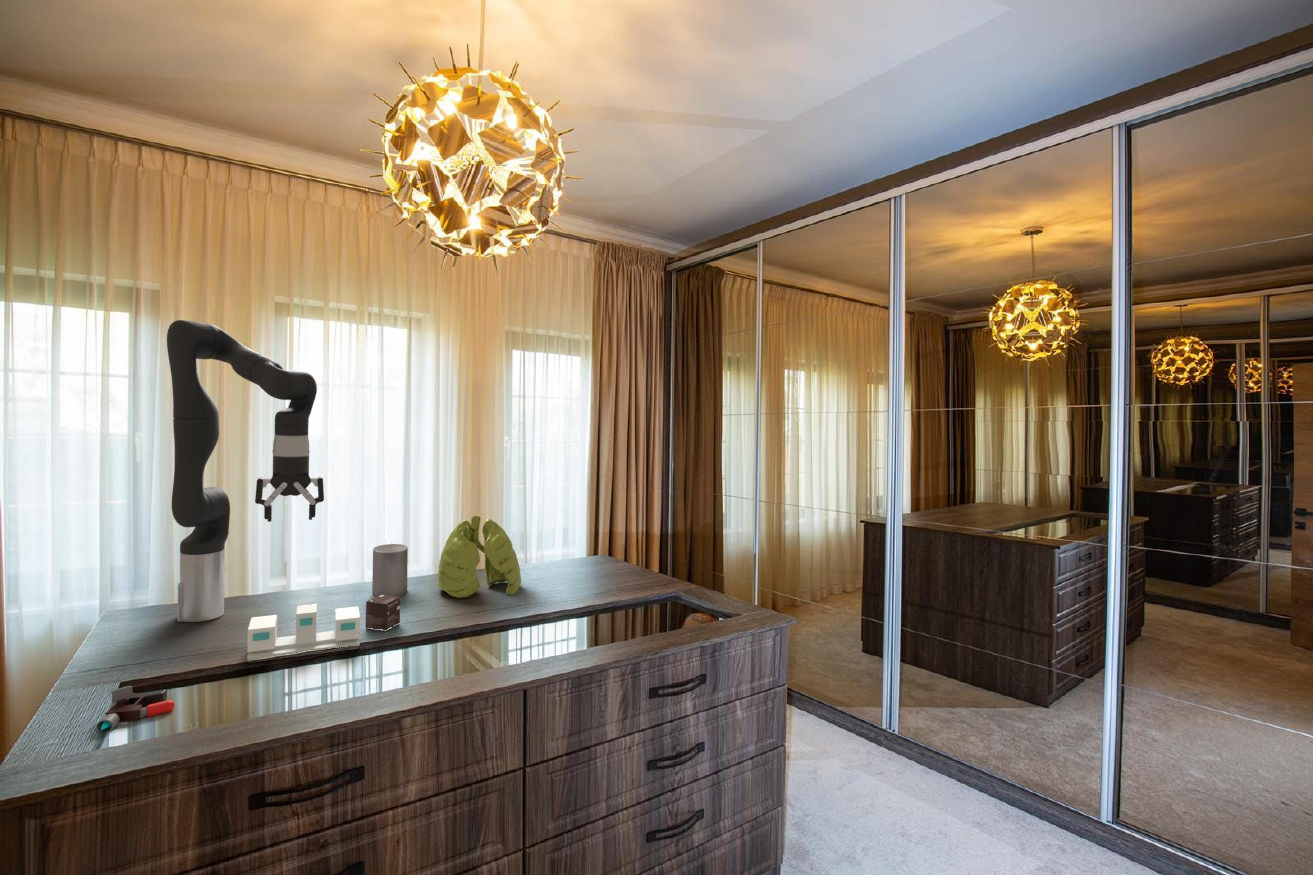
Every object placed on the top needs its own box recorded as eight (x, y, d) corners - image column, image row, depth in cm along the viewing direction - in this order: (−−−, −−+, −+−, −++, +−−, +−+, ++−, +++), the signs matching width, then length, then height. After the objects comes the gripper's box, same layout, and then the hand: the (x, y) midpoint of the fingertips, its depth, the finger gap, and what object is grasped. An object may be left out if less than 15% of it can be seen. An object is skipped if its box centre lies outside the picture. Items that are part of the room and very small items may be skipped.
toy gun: (88, 738, 104) (88, 710, 103) (124, 704, 115) (124, 678, 115) (157, 731, 107) (157, 704, 107) (186, 698, 118) (186, 674, 118)
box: (385, 632, 154) (386, 604, 154) (364, 629, 155) (365, 601, 155) (400, 624, 160) (401, 596, 160) (379, 621, 161) (380, 594, 161)
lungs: (438, 601, 179) (440, 519, 177) (436, 585, 193) (439, 510, 192) (524, 596, 188) (527, 518, 186) (517, 581, 202) (520, 508, 201)
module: (295, 644, 139) (296, 614, 138) (296, 634, 144) (297, 605, 144) (316, 642, 141) (316, 612, 140) (316, 632, 146) (316, 603, 146)
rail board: (246, 664, 133) (247, 631, 133) (251, 646, 142) (252, 616, 141) (359, 649, 143) (360, 618, 143) (357, 634, 152) (358, 605, 152)
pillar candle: (385, 586, 190) (386, 538, 189) (413, 589, 188) (414, 541, 187) (364, 596, 181) (365, 545, 179) (394, 599, 179) (394, 549, 178)
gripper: (324, 452, 154) (323, 516, 155) (257, 452, 148) (256, 518, 149) (324, 455, 148) (323, 521, 149) (254, 455, 141) (253, 524, 142)
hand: (290, 520), depth 149 cm, fingers open, 8 cm apart
